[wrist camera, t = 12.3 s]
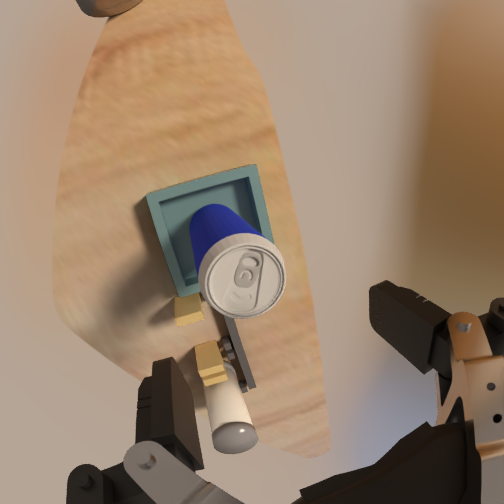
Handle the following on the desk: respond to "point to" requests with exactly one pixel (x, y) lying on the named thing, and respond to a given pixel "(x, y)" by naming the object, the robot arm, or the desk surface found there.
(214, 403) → the fuse
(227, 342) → the fuse block
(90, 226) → the desk surface
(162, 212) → the tray
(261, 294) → the beverage can
